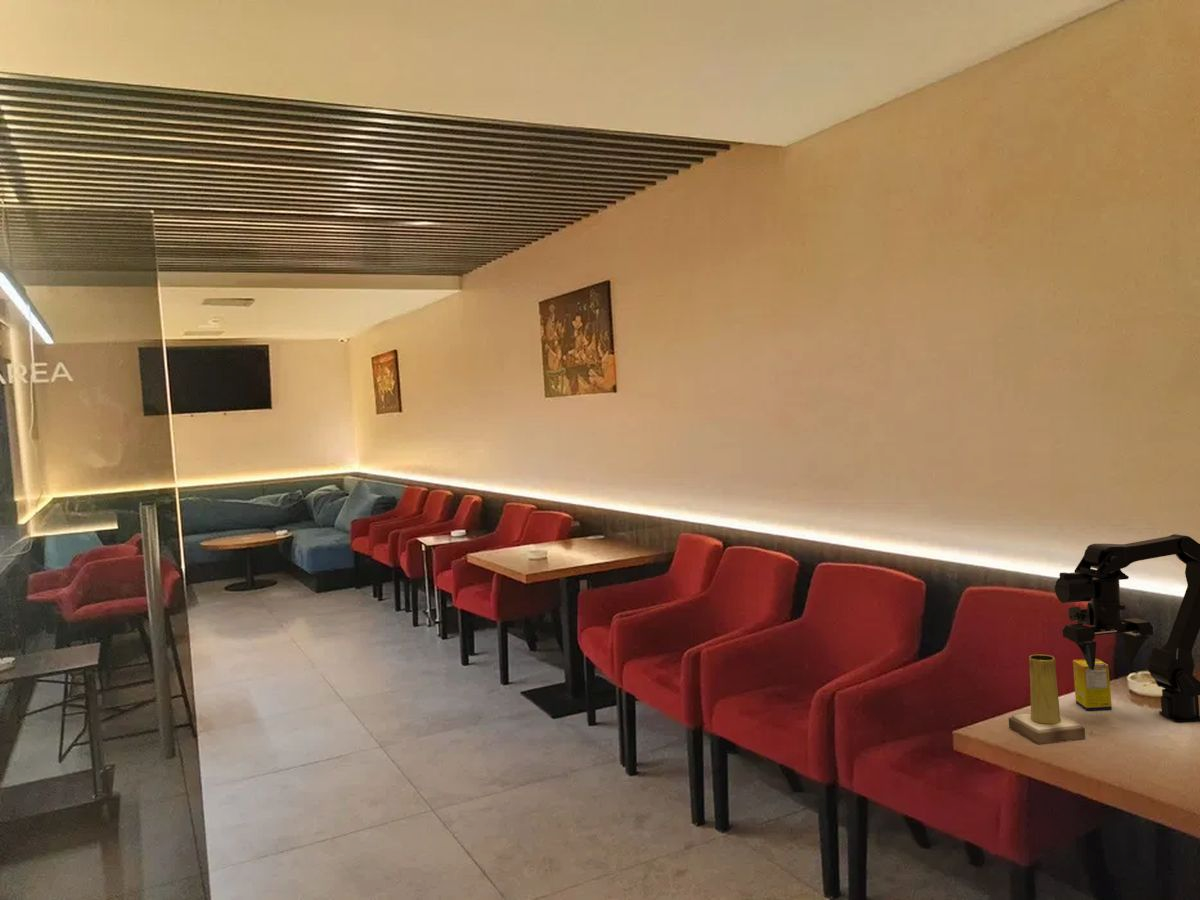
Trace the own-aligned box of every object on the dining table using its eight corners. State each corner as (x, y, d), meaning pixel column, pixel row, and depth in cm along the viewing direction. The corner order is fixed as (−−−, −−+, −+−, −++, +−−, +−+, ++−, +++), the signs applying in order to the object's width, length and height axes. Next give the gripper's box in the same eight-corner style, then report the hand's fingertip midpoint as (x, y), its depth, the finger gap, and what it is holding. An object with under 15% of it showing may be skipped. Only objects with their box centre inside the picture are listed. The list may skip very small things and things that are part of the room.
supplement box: (1100, 702, 209) (1097, 658, 209) (1112, 710, 203) (1109, 664, 203) (1074, 703, 210) (1071, 659, 209) (1086, 711, 204) (1083, 665, 203)
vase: (1041, 725, 188) (1037, 662, 188) (1024, 717, 194) (1020, 655, 194) (1067, 722, 189) (1063, 659, 189) (1049, 714, 195) (1045, 652, 195)
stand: (1053, 722, 198) (1052, 710, 198) (1085, 738, 187) (1084, 725, 187) (1009, 727, 197) (1008, 715, 196) (1038, 744, 186) (1037, 730, 186)
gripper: (1118, 590, 203) (1122, 654, 203) (1045, 597, 201) (1049, 662, 201) (1153, 598, 192) (1158, 666, 192) (1076, 605, 190) (1081, 675, 190)
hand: (1110, 667), depth 194 cm, fingers open, 9 cm apart
